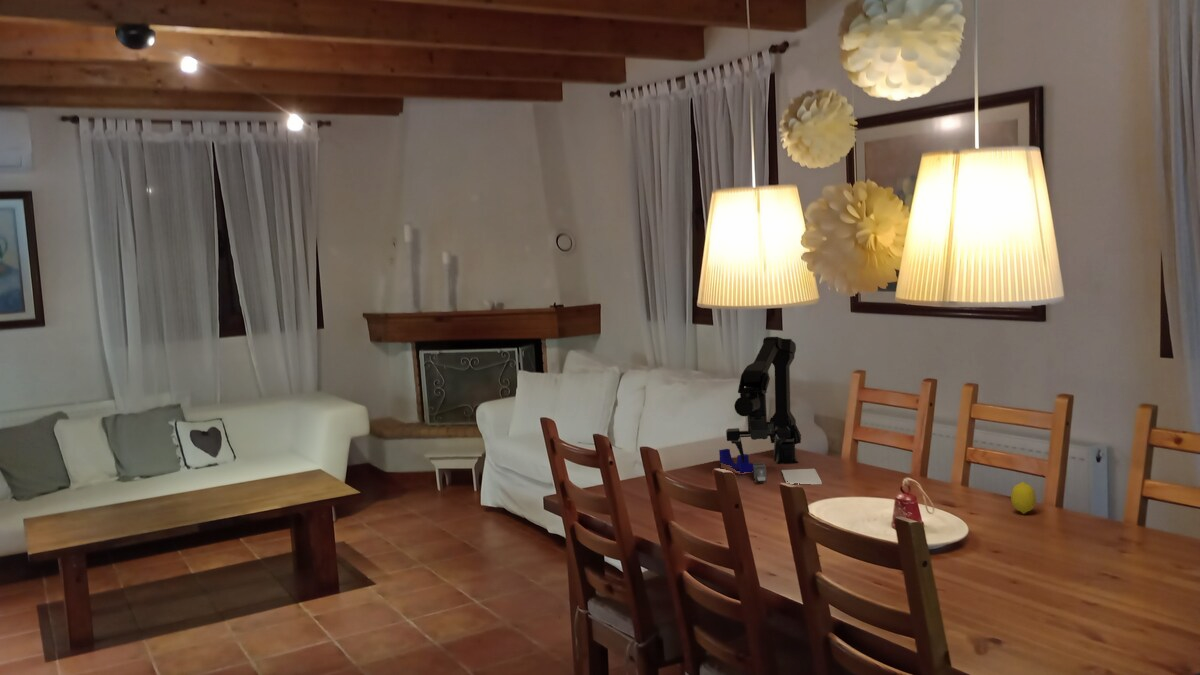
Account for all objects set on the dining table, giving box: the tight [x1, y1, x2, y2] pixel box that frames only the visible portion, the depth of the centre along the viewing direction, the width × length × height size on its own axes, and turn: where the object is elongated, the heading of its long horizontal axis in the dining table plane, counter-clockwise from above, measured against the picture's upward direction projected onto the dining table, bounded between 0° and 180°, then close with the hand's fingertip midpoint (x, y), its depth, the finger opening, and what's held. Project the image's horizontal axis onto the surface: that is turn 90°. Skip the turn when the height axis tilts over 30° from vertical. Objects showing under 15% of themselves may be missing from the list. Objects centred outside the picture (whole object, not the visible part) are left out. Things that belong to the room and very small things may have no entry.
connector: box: [752, 462, 768, 483], centre depth 283 cm, size 4×12×4 cm, turn 174°
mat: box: [781, 468, 823, 486], centre depth 282 cm, size 16×10×1 cm, turn 174°
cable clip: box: [718, 448, 753, 473], centre depth 297 cm, size 12×4×6 cm, turn 25°
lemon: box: [1010, 481, 1037, 515], centre depth 232 cm, size 6×6×8 cm
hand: (759, 461), depth 284 cm, fingers open, 9 cm apart
